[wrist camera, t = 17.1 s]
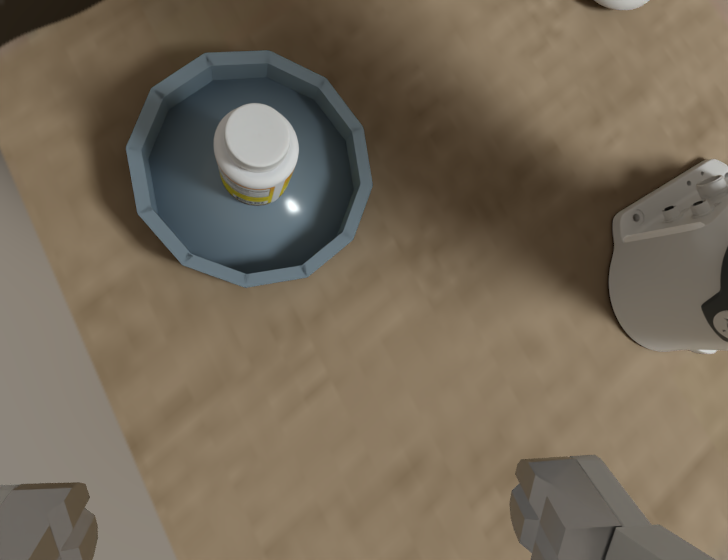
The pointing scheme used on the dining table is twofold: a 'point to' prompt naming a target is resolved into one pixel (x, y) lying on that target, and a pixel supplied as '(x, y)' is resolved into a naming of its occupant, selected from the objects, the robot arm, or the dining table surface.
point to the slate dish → (203, 181)
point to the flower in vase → (622, 4)
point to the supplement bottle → (255, 153)
